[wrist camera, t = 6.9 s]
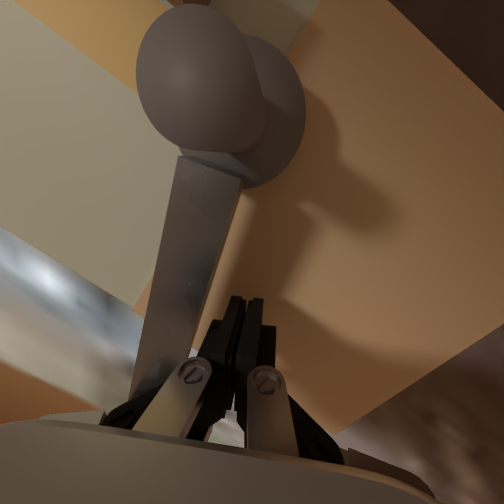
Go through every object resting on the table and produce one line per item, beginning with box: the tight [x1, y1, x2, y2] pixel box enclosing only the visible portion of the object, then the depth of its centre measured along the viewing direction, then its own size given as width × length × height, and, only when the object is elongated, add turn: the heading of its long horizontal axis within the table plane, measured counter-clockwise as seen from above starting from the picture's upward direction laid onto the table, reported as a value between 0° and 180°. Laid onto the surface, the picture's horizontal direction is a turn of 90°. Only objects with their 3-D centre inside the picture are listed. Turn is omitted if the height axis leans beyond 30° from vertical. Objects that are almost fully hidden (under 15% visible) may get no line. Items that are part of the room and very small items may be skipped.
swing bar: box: [128, 156, 247, 401], centre depth 9 cm, size 13×2×4 cm, turn 161°
